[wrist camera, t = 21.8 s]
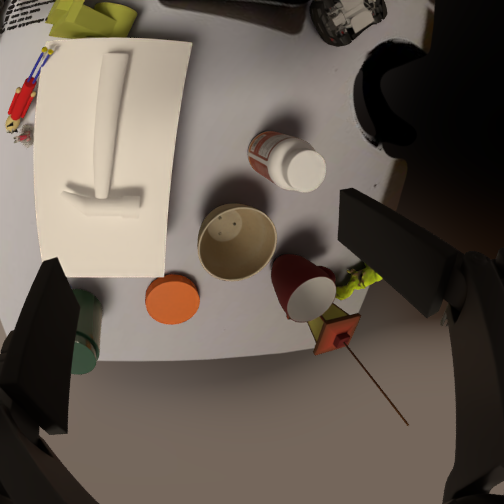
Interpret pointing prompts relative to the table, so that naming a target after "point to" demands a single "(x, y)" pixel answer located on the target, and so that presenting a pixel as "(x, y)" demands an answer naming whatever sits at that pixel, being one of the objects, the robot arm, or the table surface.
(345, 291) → the dinosaur figurine
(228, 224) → the flower pot
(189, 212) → the table surface
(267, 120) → the table surface
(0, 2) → the flashlight
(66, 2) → the bracket
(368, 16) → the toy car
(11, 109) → the figurine
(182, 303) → the lid
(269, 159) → the pill bottle
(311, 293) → the mug
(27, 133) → the figurine
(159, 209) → the hammer relief block
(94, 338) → the jar
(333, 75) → the table surface
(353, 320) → the light fixture
